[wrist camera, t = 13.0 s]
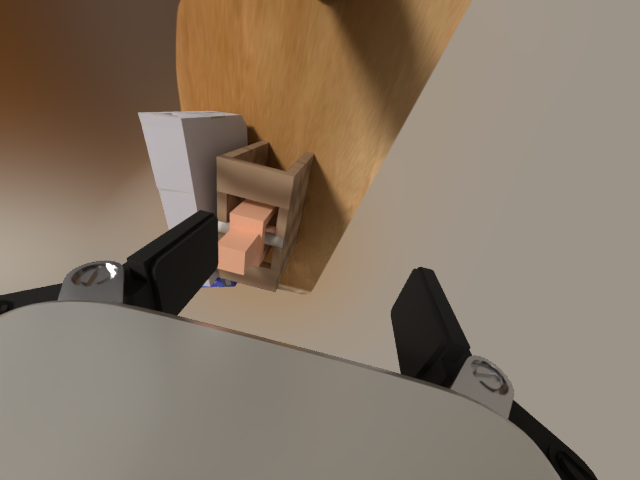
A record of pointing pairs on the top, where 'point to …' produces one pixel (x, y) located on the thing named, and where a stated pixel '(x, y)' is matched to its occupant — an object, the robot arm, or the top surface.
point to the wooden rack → (266, 187)
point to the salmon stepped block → (246, 237)
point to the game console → (190, 158)
